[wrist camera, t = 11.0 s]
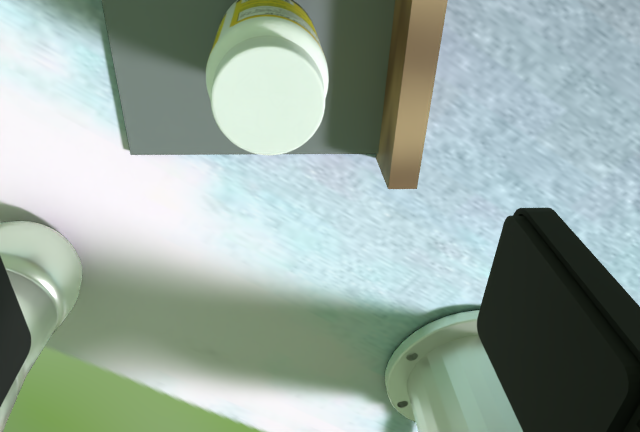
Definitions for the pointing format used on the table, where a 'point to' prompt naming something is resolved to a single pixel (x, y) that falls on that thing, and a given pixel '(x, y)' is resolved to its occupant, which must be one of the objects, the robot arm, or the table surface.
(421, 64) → the corner walls
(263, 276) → the table surface
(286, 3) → the supplement bottle
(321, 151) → the mat
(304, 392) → the table surface
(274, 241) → the table surface
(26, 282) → the plastic bottle
